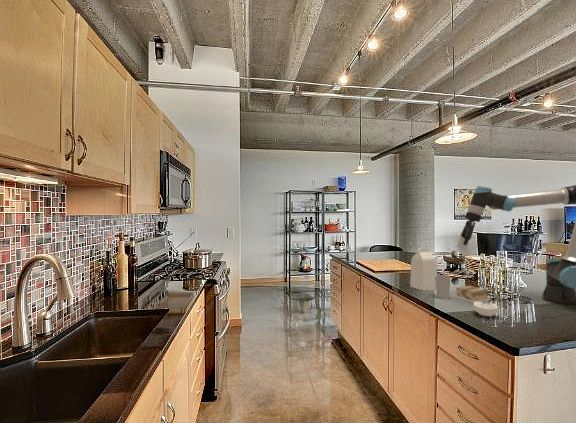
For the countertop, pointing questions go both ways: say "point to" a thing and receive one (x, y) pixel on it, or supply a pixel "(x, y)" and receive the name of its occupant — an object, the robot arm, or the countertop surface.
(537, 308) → the countertop surface
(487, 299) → the mat
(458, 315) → the countertop surface
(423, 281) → the milk
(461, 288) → the bread bun
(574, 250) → the robot arm
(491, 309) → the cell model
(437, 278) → the cup
